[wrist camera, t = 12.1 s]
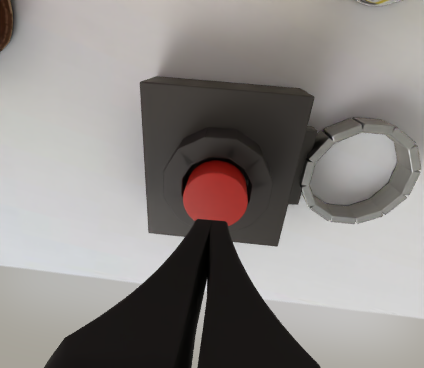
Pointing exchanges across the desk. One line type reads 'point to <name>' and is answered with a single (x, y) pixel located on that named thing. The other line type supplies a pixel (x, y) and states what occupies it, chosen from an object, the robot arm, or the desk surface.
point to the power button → (216, 192)
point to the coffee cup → (5, 23)
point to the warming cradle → (384, 198)
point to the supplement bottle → (377, 2)
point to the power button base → (222, 148)
